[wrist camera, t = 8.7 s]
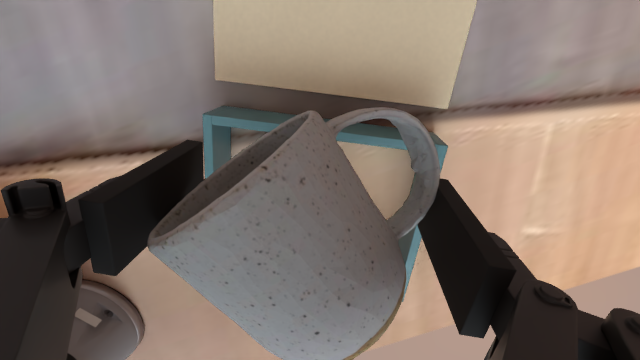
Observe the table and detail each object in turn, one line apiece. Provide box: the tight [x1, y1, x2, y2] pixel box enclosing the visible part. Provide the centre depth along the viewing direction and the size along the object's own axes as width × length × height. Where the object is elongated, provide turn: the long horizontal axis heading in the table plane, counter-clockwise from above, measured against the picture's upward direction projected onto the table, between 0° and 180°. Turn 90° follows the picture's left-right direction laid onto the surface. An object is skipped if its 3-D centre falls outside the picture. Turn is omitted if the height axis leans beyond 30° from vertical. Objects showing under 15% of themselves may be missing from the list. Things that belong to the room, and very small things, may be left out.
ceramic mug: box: [147, 107, 440, 360], centre depth 12 cm, size 11×8×8 cm
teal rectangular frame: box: [203, 106, 448, 302], centre depth 34 cm, size 23×19×5 cm
